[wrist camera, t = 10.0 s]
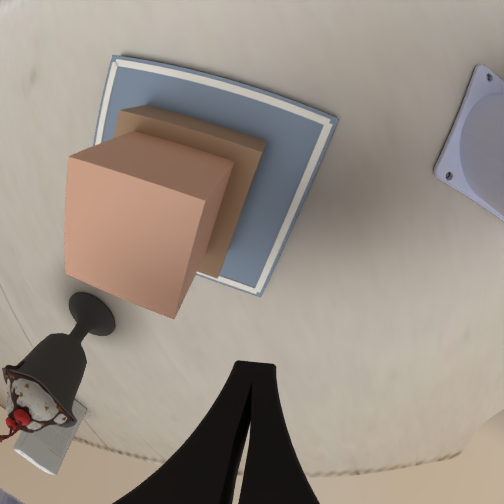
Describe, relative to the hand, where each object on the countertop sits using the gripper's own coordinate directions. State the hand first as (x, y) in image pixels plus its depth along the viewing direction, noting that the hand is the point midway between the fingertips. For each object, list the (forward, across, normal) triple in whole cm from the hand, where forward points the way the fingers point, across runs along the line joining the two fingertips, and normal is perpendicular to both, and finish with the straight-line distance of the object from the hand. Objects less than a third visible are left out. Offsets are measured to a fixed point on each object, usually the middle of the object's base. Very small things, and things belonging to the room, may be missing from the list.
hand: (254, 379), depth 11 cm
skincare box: (+11, +27, +27) cm, 40 cm away
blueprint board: (+10, +5, -4) cm, 12 cm away
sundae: (+11, +16, +8) cm, 21 cm away
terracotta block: (+6, +5, -4) cm, 9 cm away
